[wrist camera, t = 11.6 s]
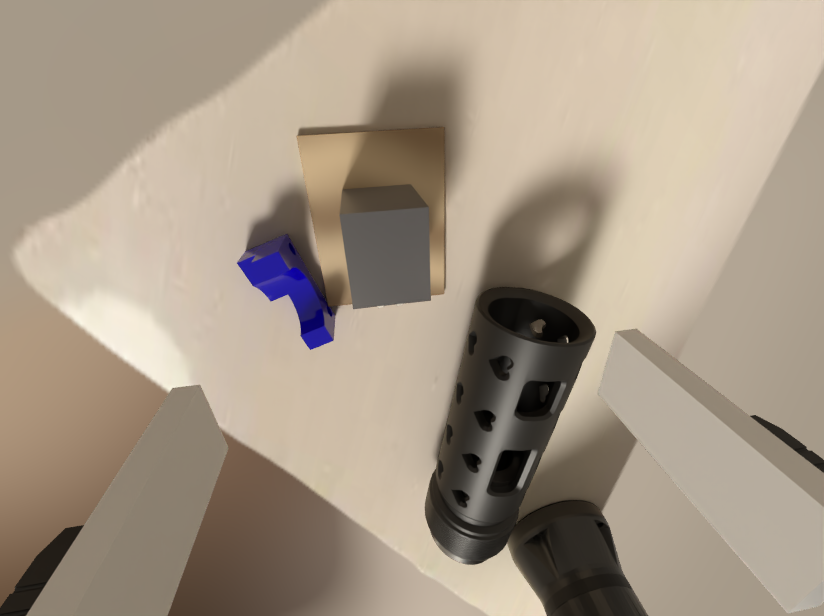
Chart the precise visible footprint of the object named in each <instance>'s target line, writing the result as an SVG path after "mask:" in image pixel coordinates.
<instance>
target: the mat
mask: <svg viewBox="0 0 824 616" xmlns="http://www.w3.org/2000/svg"><path fill="white" fill-rule="evenodd" d="M297 141H298V147H299V152H300V157H301V163H302V168H303V173H304V179H305V184H306V189H307V195H308V200H309V206H310V211H311V216H312V222H313V227H314V232H315V238H316V243H317V248H318V254H319V259H320V265H321V270H322V275H323V281H324V286H325V291H326V297H327V302H328V307H331V306H340V305H349V304H352V297H351V290H350V284H349V277H348V270H347V263H346V256H345V250H344V243H343V236H342V229H341V222H340V216H339V213H340V204H341V195H342V189H354V188H367V187H380V186H393V185H406V184H411V185H412V186H413V187H414V189H415V190H416V191H417V193H418V194H419V195H420V196H421V198H422V199H423V200H424V202H425V203H426V204H427V205H428V207H429V237H430V285H431V295H440V294H444V127H437V128H420V129H403V130H386V131H369V132H351V133H334V134H317V135H300V136H297Z"/></svg>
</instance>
